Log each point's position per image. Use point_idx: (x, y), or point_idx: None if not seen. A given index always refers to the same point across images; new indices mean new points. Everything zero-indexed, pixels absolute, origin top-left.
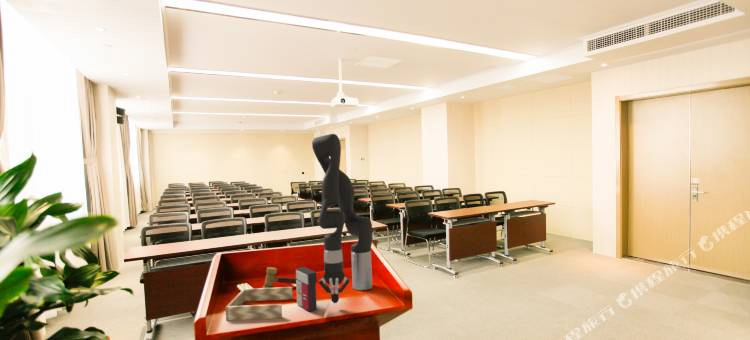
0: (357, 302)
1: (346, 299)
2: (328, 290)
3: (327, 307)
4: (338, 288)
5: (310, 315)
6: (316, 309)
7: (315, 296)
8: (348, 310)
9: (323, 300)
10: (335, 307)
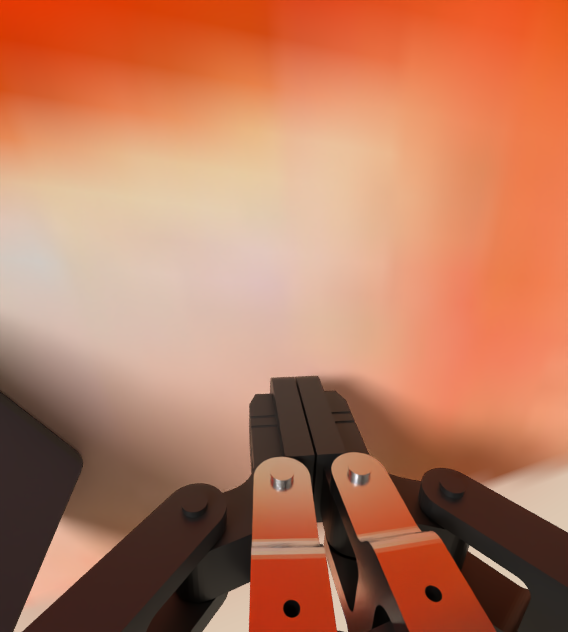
0: (539, 294)
1: (429, 175)
2: (210, 607)
3: (196, 400)
4: (400, 520)
5: (60, 551)
6: (82, 464)
7: (11, 628)
8: (413, 470)
9: (87, 166)
10: None
